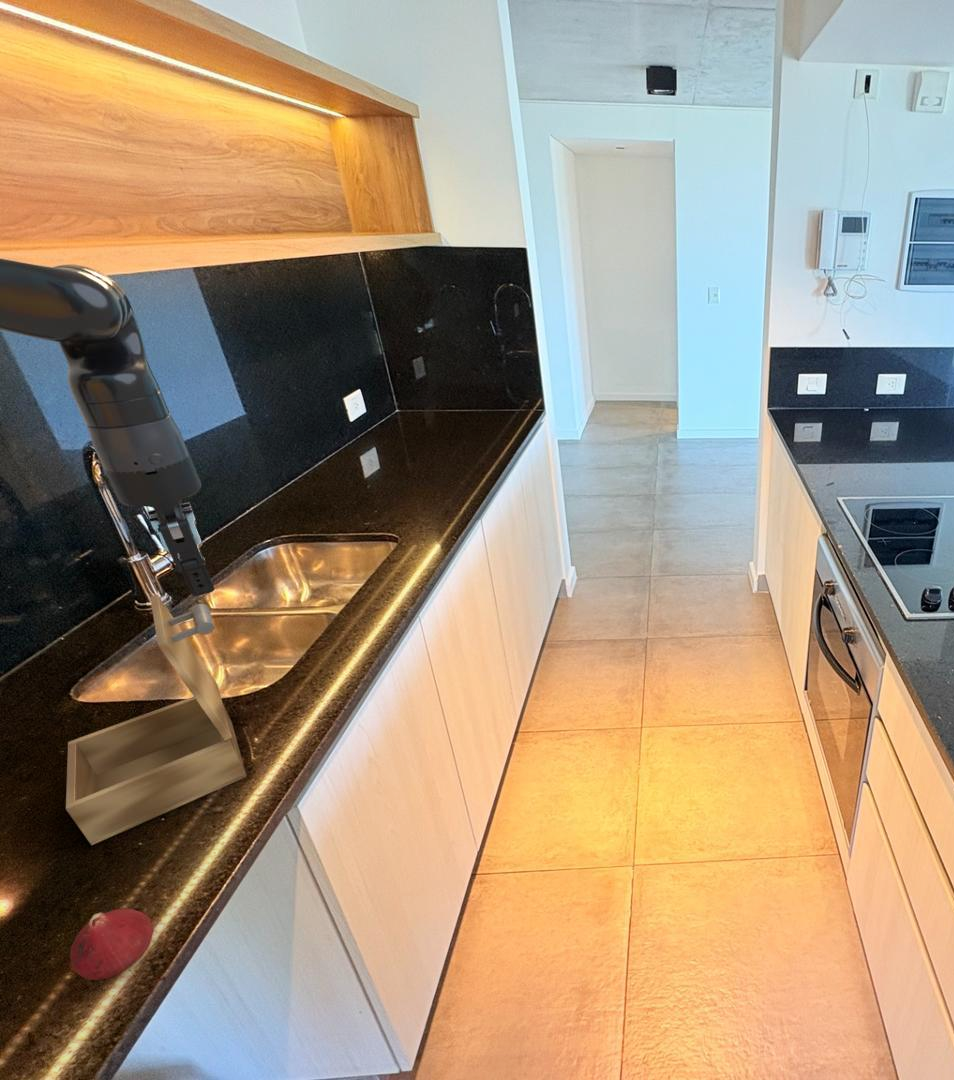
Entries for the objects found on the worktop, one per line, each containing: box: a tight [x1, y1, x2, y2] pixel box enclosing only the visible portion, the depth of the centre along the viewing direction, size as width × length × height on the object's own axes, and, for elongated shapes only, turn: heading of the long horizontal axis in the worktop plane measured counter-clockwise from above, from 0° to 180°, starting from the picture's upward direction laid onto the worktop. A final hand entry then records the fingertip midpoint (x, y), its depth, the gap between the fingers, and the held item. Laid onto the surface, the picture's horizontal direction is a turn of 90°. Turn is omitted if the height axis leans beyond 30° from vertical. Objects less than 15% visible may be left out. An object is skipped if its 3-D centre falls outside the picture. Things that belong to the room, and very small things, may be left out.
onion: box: [69, 908, 155, 981], centre depth 61 cm, size 6×6×8 cm
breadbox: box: [65, 696, 247, 846], centre depth 82 cm, size 16×14×7 cm
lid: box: [149, 593, 232, 740], centre depth 81 cm, size 16×14×5 cm
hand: (199, 579), depth 77 cm, fingers open, 8 cm apart
